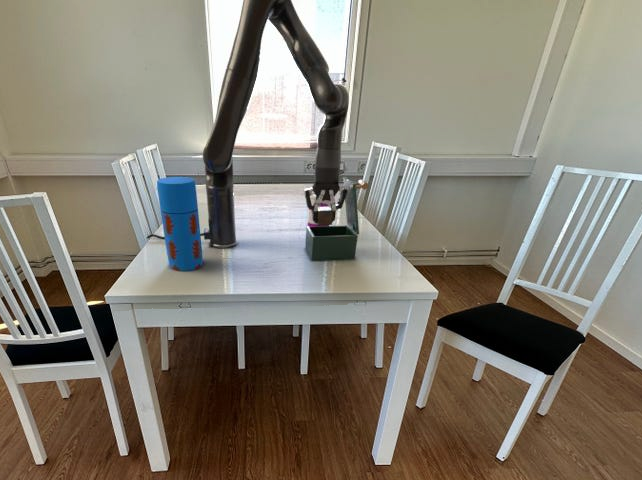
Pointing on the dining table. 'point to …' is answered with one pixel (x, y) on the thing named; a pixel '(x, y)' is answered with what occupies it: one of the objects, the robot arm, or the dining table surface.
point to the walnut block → (325, 216)
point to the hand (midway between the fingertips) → (323, 222)
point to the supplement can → (310, 212)
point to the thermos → (180, 222)
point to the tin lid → (352, 202)
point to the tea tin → (330, 242)
